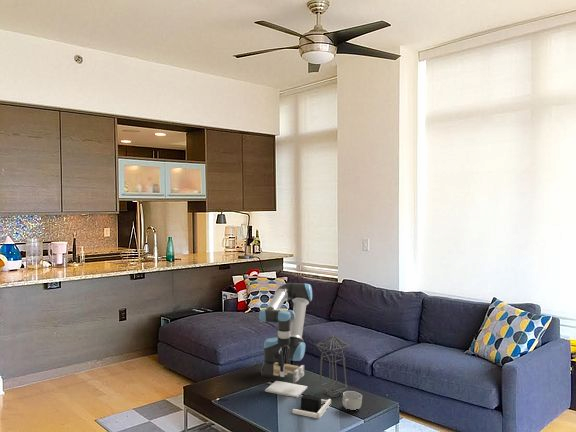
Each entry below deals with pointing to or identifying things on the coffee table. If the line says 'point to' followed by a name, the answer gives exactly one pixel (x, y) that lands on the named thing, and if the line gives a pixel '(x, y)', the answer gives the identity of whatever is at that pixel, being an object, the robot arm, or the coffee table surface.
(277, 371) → the beige piece
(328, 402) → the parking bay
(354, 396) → the teacup
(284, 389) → the rest board
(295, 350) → the robot arm
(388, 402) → the coffee table surface
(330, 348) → the geometric lantern
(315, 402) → the digital camera
